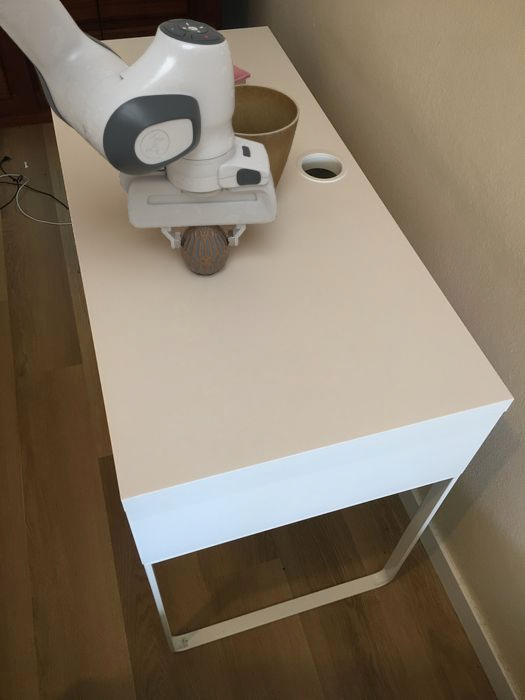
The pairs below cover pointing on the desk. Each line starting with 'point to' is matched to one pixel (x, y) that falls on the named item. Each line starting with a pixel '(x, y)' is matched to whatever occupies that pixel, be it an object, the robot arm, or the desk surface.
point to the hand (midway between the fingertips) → (205, 244)
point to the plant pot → (266, 122)
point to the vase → (204, 248)
